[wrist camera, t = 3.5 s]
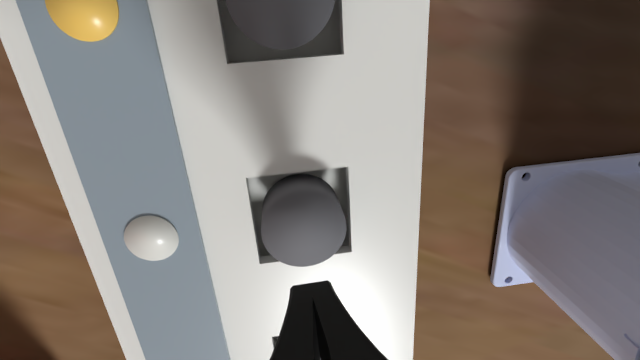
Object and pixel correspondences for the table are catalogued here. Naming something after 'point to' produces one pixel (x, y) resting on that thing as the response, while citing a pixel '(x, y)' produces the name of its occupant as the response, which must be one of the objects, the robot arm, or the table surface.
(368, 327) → the button board
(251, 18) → the button
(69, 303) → the table surface
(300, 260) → the button middle
